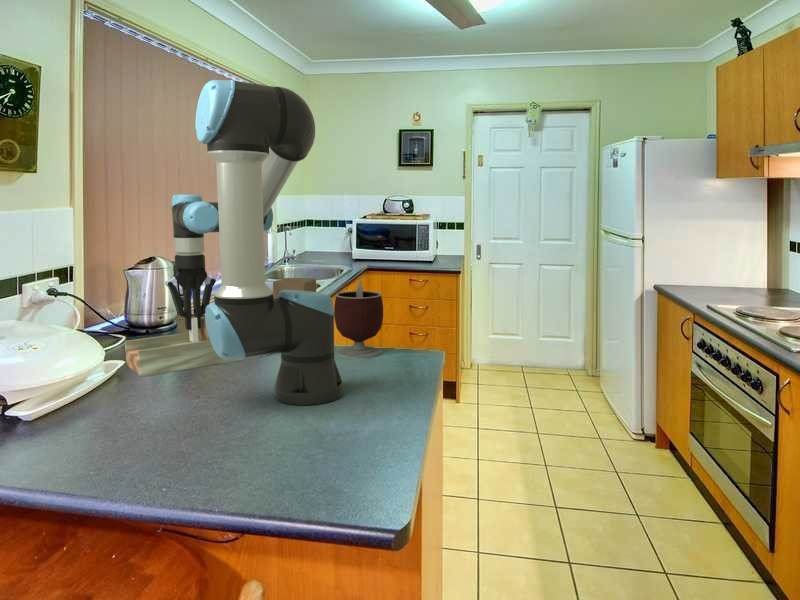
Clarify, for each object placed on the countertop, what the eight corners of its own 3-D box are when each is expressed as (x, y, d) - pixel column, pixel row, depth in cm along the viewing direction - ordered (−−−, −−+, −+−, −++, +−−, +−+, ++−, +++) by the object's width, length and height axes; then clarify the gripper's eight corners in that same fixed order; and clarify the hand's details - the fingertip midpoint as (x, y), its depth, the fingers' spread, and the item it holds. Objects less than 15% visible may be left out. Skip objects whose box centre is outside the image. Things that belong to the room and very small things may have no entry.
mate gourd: (382, 359, 156) (382, 287, 153) (332, 359, 156) (331, 287, 153) (384, 346, 172) (383, 280, 169) (338, 346, 172) (337, 280, 169)
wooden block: (306, 350, 167) (304, 282, 164) (274, 348, 169) (272, 281, 166) (318, 342, 177) (316, 278, 173) (287, 340, 179) (285, 277, 175)
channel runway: (268, 355, 161) (268, 332, 160) (140, 377, 140) (138, 351, 139) (248, 346, 172) (247, 324, 170) (126, 364, 151) (124, 340, 150)
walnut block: (233, 343, 158) (232, 318, 156) (208, 347, 153) (207, 321, 152) (223, 339, 163) (222, 314, 162) (199, 342, 159) (198, 317, 158)
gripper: (208, 251, 157) (212, 335, 161) (159, 253, 149) (164, 341, 153) (219, 253, 152) (222, 340, 155) (168, 255, 143) (173, 347, 147)
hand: (194, 340), depth 154 cm, fingers closed
